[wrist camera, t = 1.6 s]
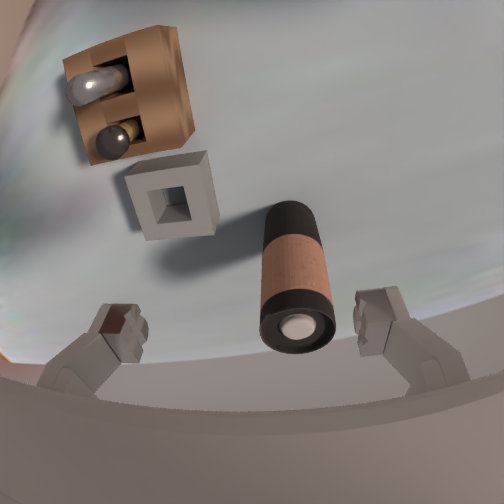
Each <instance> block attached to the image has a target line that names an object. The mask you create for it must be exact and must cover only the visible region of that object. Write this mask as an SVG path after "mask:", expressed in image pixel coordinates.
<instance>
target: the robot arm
mask: <svg viewBox="0 0 504 504" xmlns="http://www.w3.org/2000/svg"><path fill="white" fill-rule="evenodd" d="M355 301H356V306H355V307H354V312H353V322H354V328H355V333H356V334H358V335H359V336H358V342H357V343H358V347H359V351H360V356H361V357H364V356H373V355H382V354H383V356H384V357H385V358H386V359H387V360H388V361H389V363H390V364H391V365H392V366H393V367H394V368H395V369H396V370H397V371H398V372H399V373H400V374H401V375H402V376H403V377H404V378H405V380H406V381H407V382H408V383H409V384H410V387H409V389H408V391H407V393H406V395H405V396H403V397H398V398H392V399H387V400H381V401H374V402H368V403H361V404H353V405H345V406H336V407H326V408H315V409H302V410H285V411H255V412H254V411H253V412H252V411H248V412H237V411H233V412H230V411H200V410H182V409H168V408H158V407H149V406H139V405H132V404H124V403H118V402H111V401H104V400H100V399H99V398H98V397H97V396H96V395H95V394H94V393H95V392H96V391H97V390H98V388H100V386H101V385H102V384H103V383H104V382H105V381H106V380H107V379H108V378H109V377H110V376H111V374H112V373H113V372H114V371H115V370H116V369H117V368H118V367H119V366H120V365H121V363H139V362H140V359H141V356H142V353H143V348H142V345H143V344H144V343H145V342H146V341H147V338H148V325H147V322H146V320H145V318H143V317H142V316H141V315H140V312H141V310H140V308H139V306H138V305H137V304H103V305H101V307H100V309H99V311H98V313H97V315H96V317H95V319H94V321H93V323H92V325H91V327H90V329H89V331H88V333H84V334H82V335H81V336H80V337H79V338H77V339H76V340H75V341H74V342H72V343H71V344H70V345H69V346H67V347H66V348H65V349H64V350H62V351H61V352H60V353H59V354H58V355H56V356H55V357H54V358H53V359H51V360H50V361H49V362H48V363H47V364H46V366H45V368H44V370H43V372H42V374H41V376H40V379H39V381H38V383H37V385H36V386H35V385H31V384H27V383H24V382H20V381H17V380H13V379H10V378H7V377H4V376H0V504H504V370H502V371H499V372H496V373H493V374H489V375H486V376H483V377H480V378H477V379H473V380H471V379H470V377H469V374H468V371H467V368H466V366H465V363H464V361H463V358H462V356H461V353H460V352H459V351H458V350H456V349H455V348H453V347H452V346H451V345H450V344H448V343H447V342H446V341H444V340H443V339H442V338H441V337H439V336H438V335H437V334H435V333H434V332H433V331H431V330H430V329H429V328H427V327H426V326H424V325H423V324H422V323H420V322H419V321H418V320H416V319H415V318H412V319H411V318H410V315H409V313H408V310H407V308H406V305H405V303H404V300H403V298H402V295H401V293H400V291H399V288H398V287H397V286H392V287H384V288H376V289H367V290H358V291H356V295H355Z"/></svg>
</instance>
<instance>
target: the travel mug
mask: <svg viewBox="0 0 504 504" xmlns="http://www.w3.org/2000/svg"><path fill="white" fill-rule="evenodd" d="M259 331H260V336H261V338H262V340H263V342H264V343H265V344H266V345H267V346H268V347H270V348H272V349H273V350H276V351H278V352H282V353H287V354H304V353H309V352H313V351H315V350H318V349H320V348H322V347H324V346H325V345H326V344H328V343H329V342H330V341H331V340H332V338H333V337H334V335H335V331H336V322H335V315H334V309H333V303H332V296H331V290H330V284H329V279H328V273H327V267H326V262H325V256H324V252H323V248H322V244H321V240H320V236H319V233H318V229H317V225H316V221H315V218H314V215H313V213H312V211H311V210H310V209H309V208H308V207H307V206H306V205H304V204H303V203H300V202H297V201H284V202H281V203H279V204H277V205H275V206H274V207H273V208H272V209H271V210H270V211H269V213H268V215H267V217H266V223H265V233H264V243H263V254H262V279H261V310H260V328H259Z"/></svg>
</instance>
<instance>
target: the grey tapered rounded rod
mask: <svg viewBox="0 0 504 504" xmlns="http://www.w3.org/2000/svg"><path fill="white" fill-rule="evenodd" d="M130 85H133V81H132V76H131V72H130V67H129V62H127V63H122V64H118V65H114V66H109V67H105V68H101V69H97V70H93V71H90V72H86V73H83V74H79V75H76V76H74V77H72V78H71V79H70V80H69V82H68V84H67V87H66V95H67V98H68V100H69V101H70V103H71V104H73V105H75V106H83V105H85V104H87V103H90V102H92V101H94V100H96V99H98V98H101V97H103V96H105V95H108V94H110V93H113V92H115V91H118V90H120V89H123V88H125V87H128V86H130Z"/></svg>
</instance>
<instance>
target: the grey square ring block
mask: <svg viewBox="0 0 504 504" xmlns="http://www.w3.org/2000/svg"><path fill="white" fill-rule="evenodd" d="M124 178H125V181H126V184H127V187H128V190H129V193H130V196H131V199H132V202H133V205H134V208H135V211H136V214H137V217H138V220H139V223H140V226H141V228H142V231H143V234H144V237H145V239H146V241H149V240H161V239H172V238H184V237H196V236H209V235H215V231H216V227H217V224H218V220H219V216H220V214H219V210H218V205H217V200H216V195H215V190H214V185H213V180H212V175H211V170H210V165H209V159H208V154H207V151H200V152H193V153H186V154H180V155H173V156H167V157H161V158H155V159H150V160H144V161H139V162H137V163H136V164H135V165H134V167H133V168H132V169H131V170H130V171H129V172H128V173H127V174H126V175H125V176H124ZM180 186H183V187H184V191H185V195H186V199H187V203H186V204H177V205H169V206H167V204H166V200H165V197H164V193H163V190H162V189H165V188H172V187H180Z"/></svg>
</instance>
